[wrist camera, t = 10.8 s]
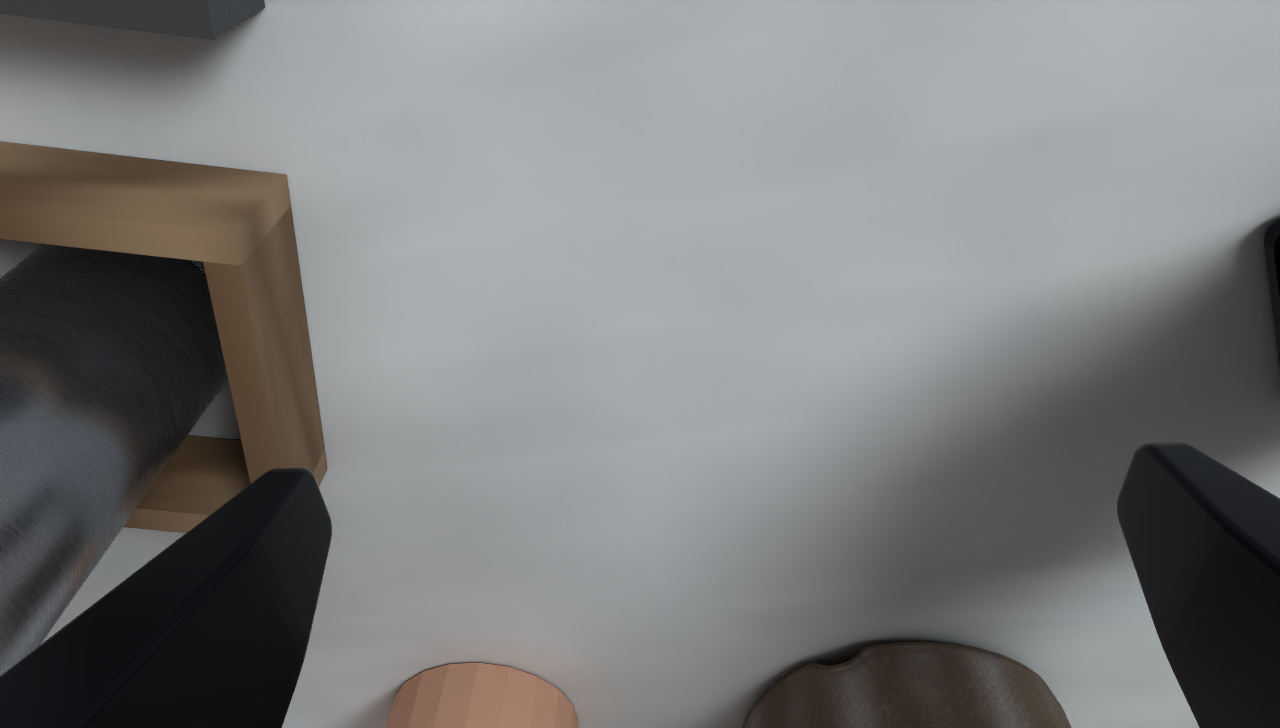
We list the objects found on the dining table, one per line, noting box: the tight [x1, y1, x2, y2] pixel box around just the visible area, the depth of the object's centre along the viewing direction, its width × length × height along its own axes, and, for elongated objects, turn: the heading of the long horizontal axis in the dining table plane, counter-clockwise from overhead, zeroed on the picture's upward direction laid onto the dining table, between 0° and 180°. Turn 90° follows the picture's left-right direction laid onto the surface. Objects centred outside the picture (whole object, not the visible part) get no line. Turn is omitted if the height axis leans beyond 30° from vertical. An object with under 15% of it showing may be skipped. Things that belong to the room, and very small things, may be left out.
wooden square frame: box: [0, 142, 327, 533], centre depth 22 cm, size 10×10×3 cm
